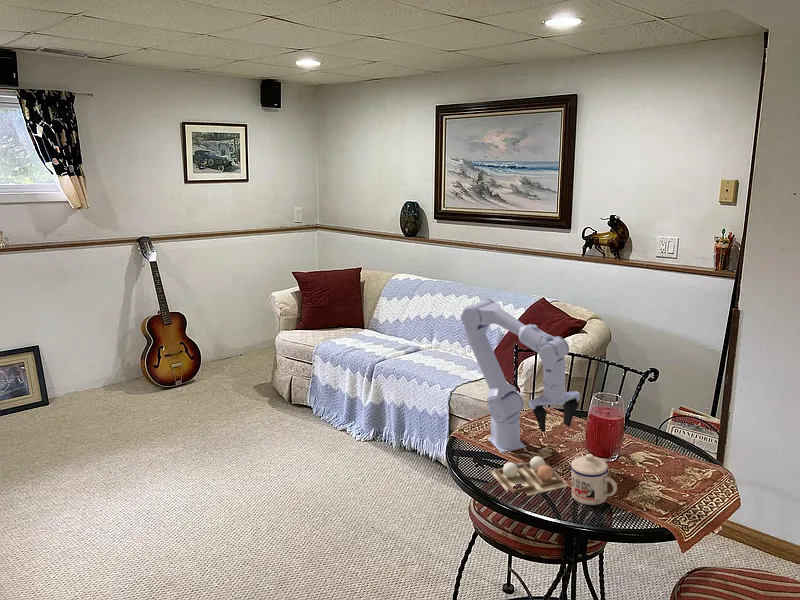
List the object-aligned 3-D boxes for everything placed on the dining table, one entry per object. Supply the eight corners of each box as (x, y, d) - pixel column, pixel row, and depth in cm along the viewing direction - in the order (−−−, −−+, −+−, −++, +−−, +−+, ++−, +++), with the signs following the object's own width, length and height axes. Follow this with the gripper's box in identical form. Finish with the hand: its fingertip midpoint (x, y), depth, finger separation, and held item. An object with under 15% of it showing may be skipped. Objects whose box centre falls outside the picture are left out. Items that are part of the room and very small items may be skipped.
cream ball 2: (527, 468, 183) (527, 455, 182) (540, 465, 184) (540, 452, 183) (534, 475, 180) (534, 462, 179) (547, 472, 181) (547, 459, 180)
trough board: (489, 472, 184) (489, 467, 183) (542, 460, 188) (542, 455, 187) (513, 500, 170) (513, 495, 169) (569, 487, 174) (569, 482, 173)
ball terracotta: (536, 478, 179) (533, 466, 178) (549, 472, 180) (546, 460, 178) (543, 486, 175) (540, 473, 174) (556, 480, 176) (554, 467, 175)
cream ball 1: (500, 474, 181) (500, 461, 180) (514, 471, 182) (513, 458, 181) (507, 481, 178) (506, 468, 177) (520, 478, 179) (520, 465, 178)
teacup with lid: (563, 497, 169) (563, 456, 166) (583, 482, 175) (583, 442, 172) (606, 515, 161) (606, 472, 158) (625, 499, 167) (626, 457, 164)
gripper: (536, 392, 175) (537, 439, 178) (586, 382, 178) (586, 428, 182) (524, 382, 181) (525, 428, 185) (572, 373, 185) (572, 418, 188)
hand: (554, 427), depth 184 cm, fingers open, 7 cm apart
